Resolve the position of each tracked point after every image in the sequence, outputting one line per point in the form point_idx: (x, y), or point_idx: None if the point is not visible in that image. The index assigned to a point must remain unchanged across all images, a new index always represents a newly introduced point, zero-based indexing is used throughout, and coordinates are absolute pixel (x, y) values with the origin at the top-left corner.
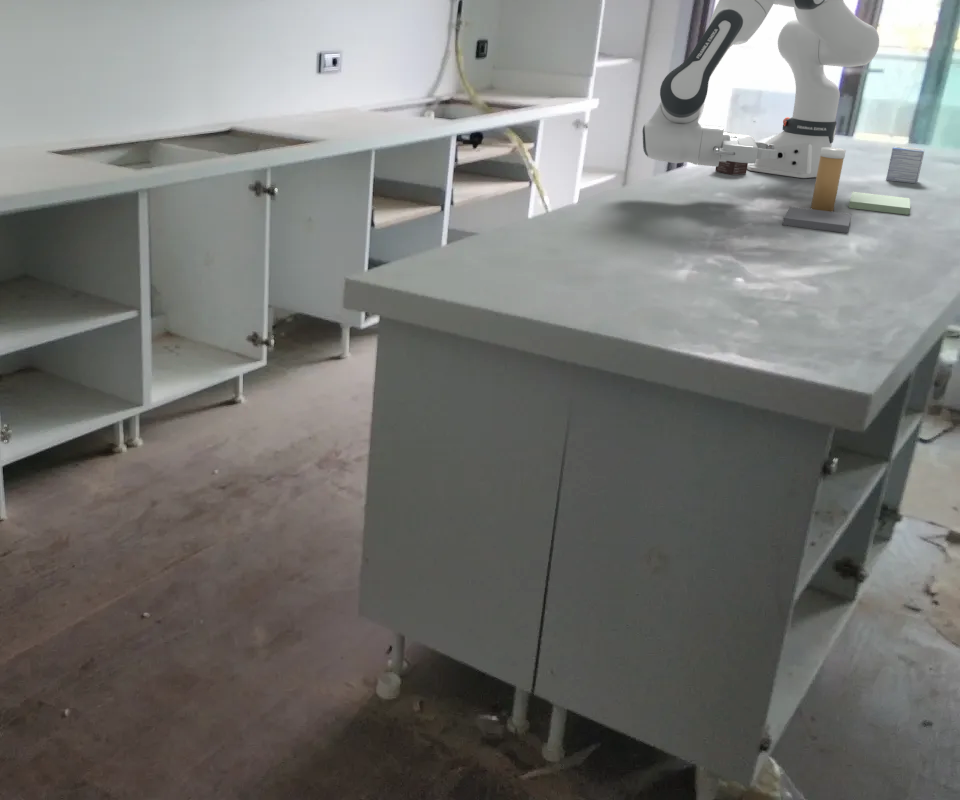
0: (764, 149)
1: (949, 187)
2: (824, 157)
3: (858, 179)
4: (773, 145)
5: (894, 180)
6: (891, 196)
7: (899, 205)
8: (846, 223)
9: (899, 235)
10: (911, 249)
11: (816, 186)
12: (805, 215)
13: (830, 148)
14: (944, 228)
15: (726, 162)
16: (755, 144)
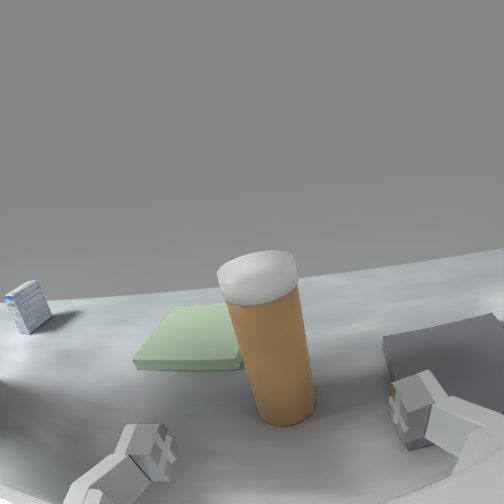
0: (486, 409)
1: (73, 300)
2: (287, 293)
3: (17, 354)
4: (158, 427)
5: (35, 328)
6: (163, 321)
7: None
8: (478, 319)
9: (429, 291)
10: (491, 270)
11: (293, 377)
12: (486, 378)
13: (242, 270)
14: (330, 277)
15: None
16: (486, 464)
